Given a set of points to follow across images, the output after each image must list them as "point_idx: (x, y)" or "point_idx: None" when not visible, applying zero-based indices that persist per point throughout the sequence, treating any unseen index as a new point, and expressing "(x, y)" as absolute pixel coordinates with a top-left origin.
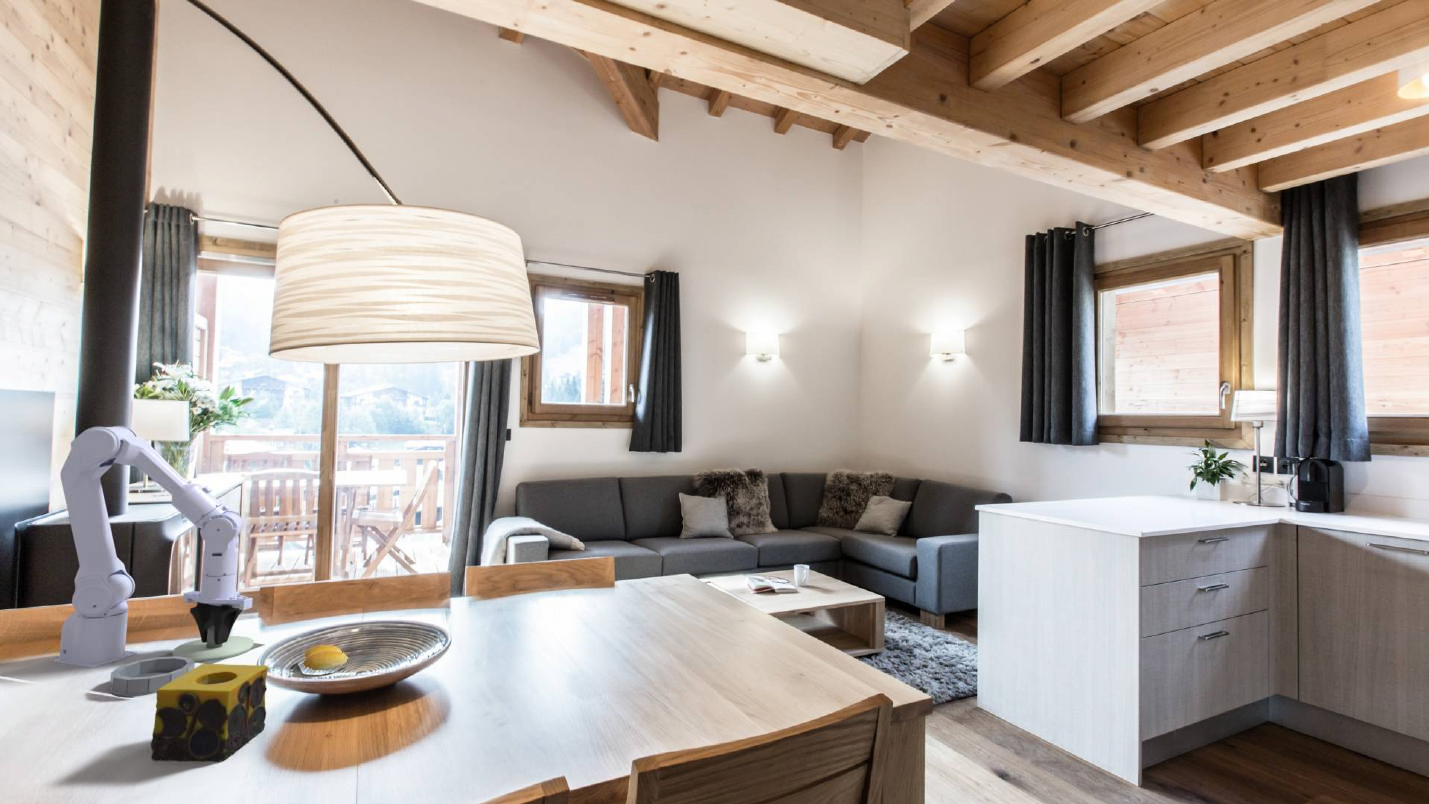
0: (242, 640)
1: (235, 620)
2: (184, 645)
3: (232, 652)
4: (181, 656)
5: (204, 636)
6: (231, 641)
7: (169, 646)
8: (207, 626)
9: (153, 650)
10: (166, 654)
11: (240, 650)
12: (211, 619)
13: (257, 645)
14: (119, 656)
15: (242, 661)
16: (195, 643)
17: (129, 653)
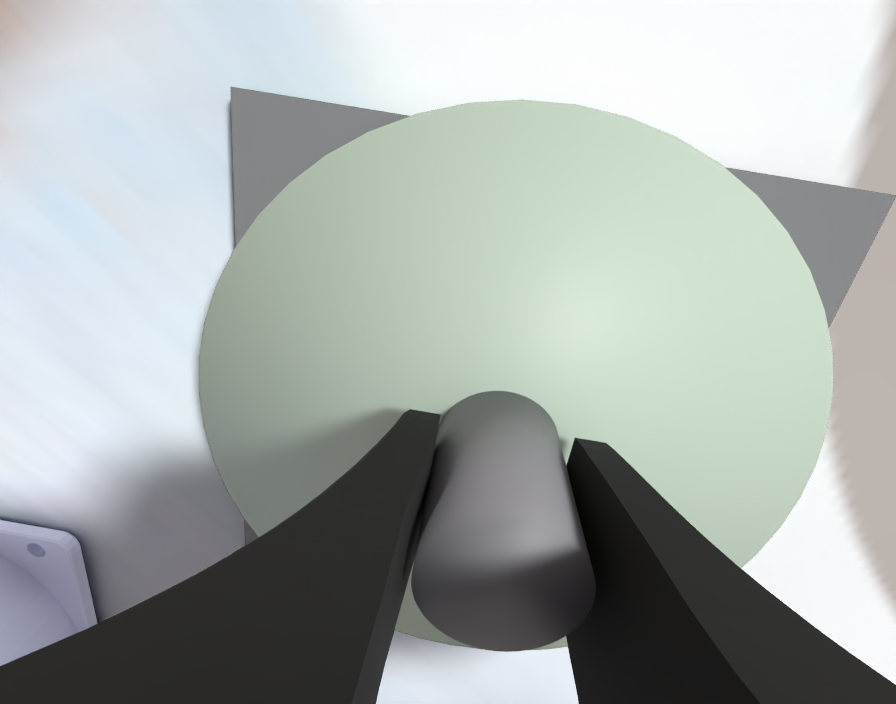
0: (652, 246)
1: (818, 640)
2: (249, 461)
3: (749, 549)
4: (438, 641)
5: (415, 548)
6: (556, 299)
7: (55, 342)
8: (392, 611)
9: (55, 433)
10: (248, 534)
11: (792, 503)
12: (378, 658)
13: (820, 240)
14: (63, 619)
15: (831, 545)
16: (284, 407)
17: (43, 564)
